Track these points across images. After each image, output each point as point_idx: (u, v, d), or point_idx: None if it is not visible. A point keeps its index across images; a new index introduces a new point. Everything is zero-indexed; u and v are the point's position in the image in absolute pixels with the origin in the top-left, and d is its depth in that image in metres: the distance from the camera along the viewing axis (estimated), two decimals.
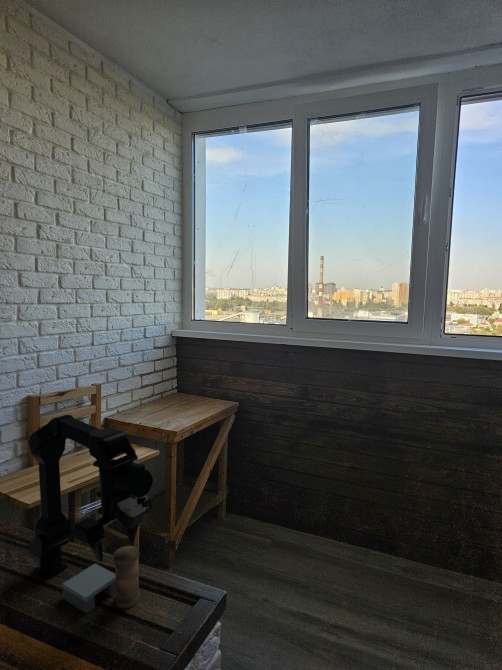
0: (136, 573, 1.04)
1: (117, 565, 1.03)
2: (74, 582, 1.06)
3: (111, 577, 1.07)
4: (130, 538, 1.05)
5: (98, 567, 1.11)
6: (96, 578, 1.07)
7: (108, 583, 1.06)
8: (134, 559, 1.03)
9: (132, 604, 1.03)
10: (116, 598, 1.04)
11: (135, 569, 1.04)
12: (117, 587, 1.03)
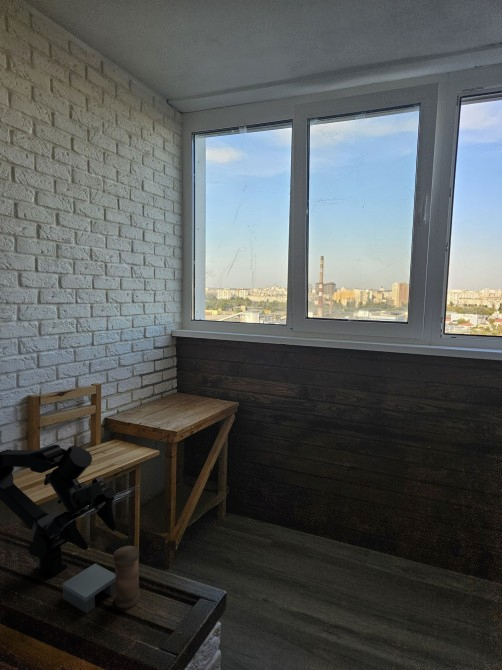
0: (136, 573, 1.04)
1: (117, 565, 1.03)
2: (74, 582, 1.06)
3: (111, 577, 1.07)
4: (112, 528, 1.12)
5: (98, 567, 1.11)
6: (96, 578, 1.07)
7: (108, 583, 1.06)
8: (134, 559, 1.03)
9: (132, 604, 1.03)
10: (116, 598, 1.04)
11: (135, 569, 1.04)
12: (117, 587, 1.03)
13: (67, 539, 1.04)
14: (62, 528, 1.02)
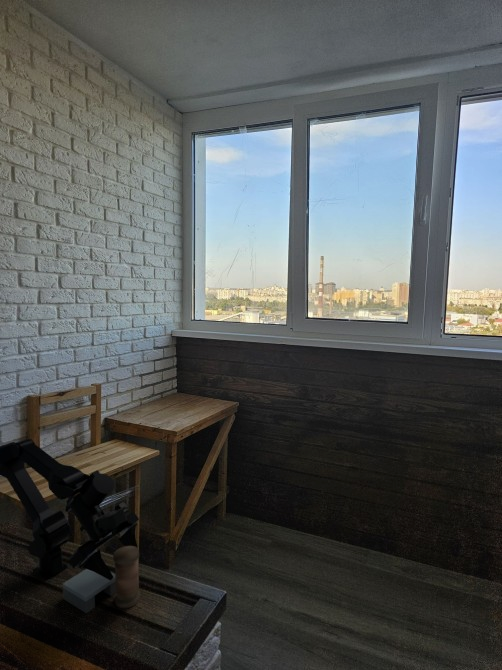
0: (136, 573, 1.04)
1: (117, 565, 1.03)
2: (74, 582, 1.06)
3: None
4: None
5: None
6: (96, 578, 1.07)
7: (108, 583, 1.06)
8: (134, 559, 1.03)
9: (132, 604, 1.03)
10: (116, 598, 1.04)
11: (135, 569, 1.04)
12: (117, 587, 1.03)
13: (91, 569, 1.01)
14: (86, 558, 0.99)
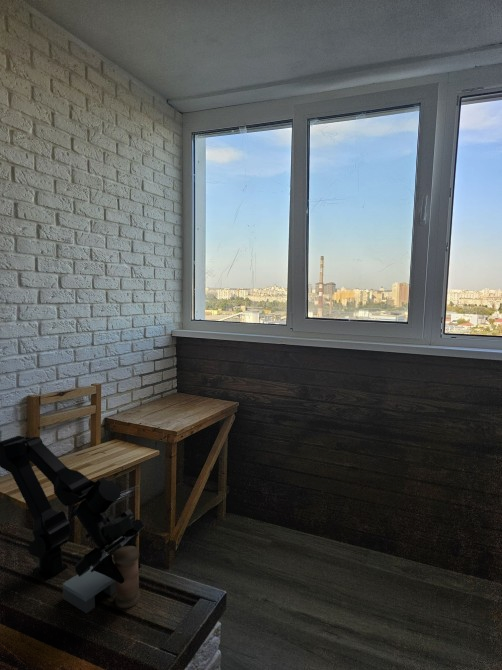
0: (136, 573, 1.04)
1: (117, 565, 1.03)
2: (74, 582, 1.06)
3: None
4: None
5: None
6: (96, 578, 1.07)
7: (108, 583, 1.06)
8: (134, 559, 1.03)
9: (132, 604, 1.03)
10: (116, 598, 1.04)
11: (135, 569, 1.04)
12: (117, 587, 1.03)
13: (103, 572, 1.02)
14: (98, 562, 1.00)
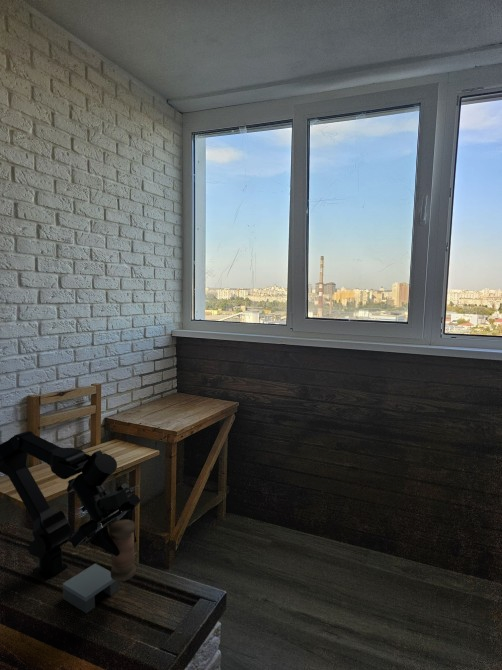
0: (132, 546, 1.03)
1: (113, 538, 1.02)
2: (74, 582, 1.06)
3: None
4: None
5: (98, 567, 1.11)
6: (96, 578, 1.07)
7: (108, 583, 1.06)
8: (130, 532, 1.02)
9: (127, 577, 1.02)
10: (112, 571, 1.04)
11: (131, 542, 1.03)
12: (113, 560, 1.03)
13: (98, 545, 1.01)
14: (94, 533, 0.99)
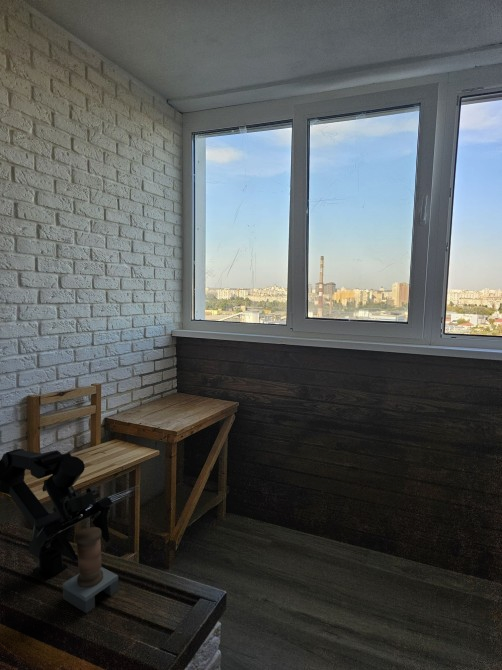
0: (97, 554, 1.05)
1: (78, 545, 1.04)
2: (74, 582, 1.06)
3: (111, 577, 1.07)
4: (105, 539, 1.09)
5: None
6: None
7: (108, 583, 1.06)
8: (94, 540, 1.04)
9: (92, 584, 1.04)
10: (78, 577, 1.06)
11: (96, 550, 1.05)
12: (78, 566, 1.05)
13: (57, 548, 1.02)
14: (51, 537, 1.00)
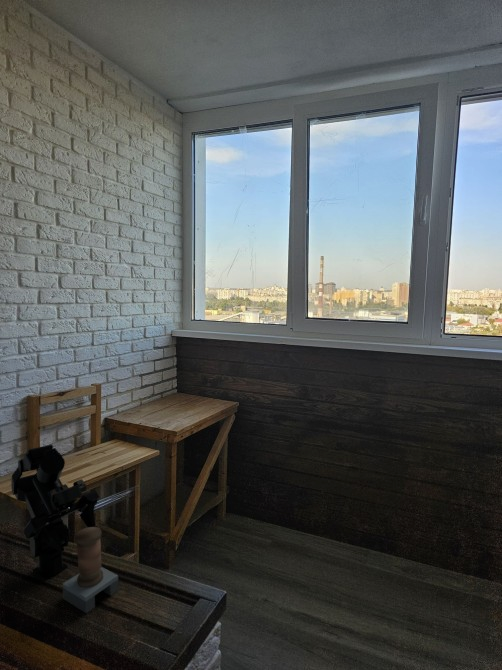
0: (97, 554, 1.05)
1: (78, 545, 1.04)
2: (74, 582, 1.06)
3: (111, 577, 1.07)
4: None
5: None
6: None
7: (108, 583, 1.06)
8: (94, 540, 1.04)
9: (92, 584, 1.04)
10: (78, 577, 1.06)
11: (96, 550, 1.05)
12: (78, 566, 1.05)
13: (45, 540, 1.05)
14: (38, 529, 1.03)
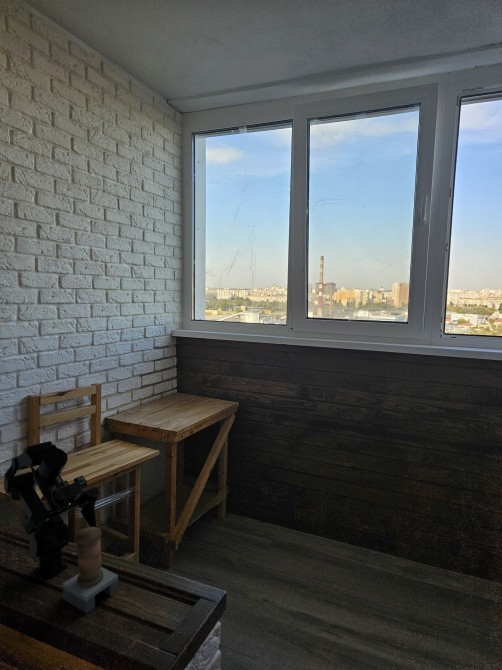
0: (97, 554, 1.05)
1: (78, 545, 1.04)
2: (74, 582, 1.06)
3: (111, 577, 1.07)
4: None
5: None
6: None
7: (108, 583, 1.06)
8: (94, 540, 1.04)
9: (92, 584, 1.04)
10: (78, 577, 1.06)
11: (96, 550, 1.05)
12: (78, 566, 1.05)
13: (45, 536, 1.05)
14: (39, 525, 1.03)
